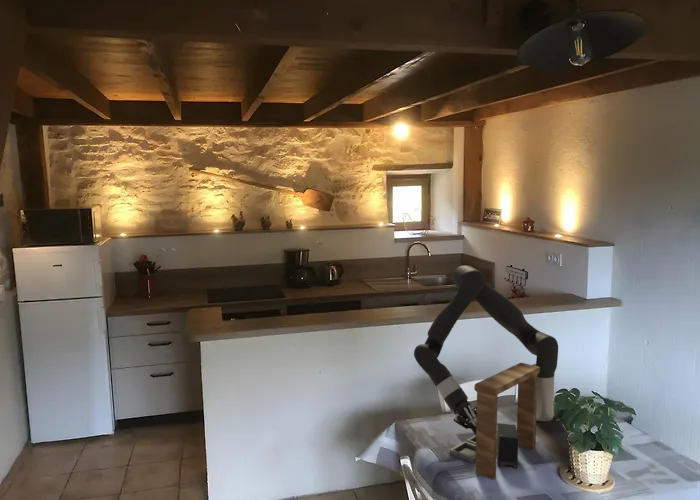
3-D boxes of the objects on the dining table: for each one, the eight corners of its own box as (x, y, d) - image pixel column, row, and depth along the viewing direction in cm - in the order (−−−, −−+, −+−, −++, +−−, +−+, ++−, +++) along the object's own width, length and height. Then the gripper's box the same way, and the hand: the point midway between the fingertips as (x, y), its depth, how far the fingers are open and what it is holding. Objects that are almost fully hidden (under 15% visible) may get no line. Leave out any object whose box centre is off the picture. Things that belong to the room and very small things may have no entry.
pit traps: (480, 435, 201) (480, 431, 201) (502, 443, 195) (502, 439, 195) (449, 454, 188) (449, 449, 188) (472, 463, 182) (472, 458, 182)
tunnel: (518, 442, 196) (520, 362, 193) (537, 448, 191) (539, 367, 188) (473, 472, 176) (474, 384, 172) (493, 480, 171) (494, 389, 168)
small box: (518, 469, 178) (519, 437, 177) (497, 467, 179) (498, 436, 178) (515, 453, 188) (516, 424, 187) (495, 452, 189) (496, 422, 188)
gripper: (447, 392, 190) (477, 437, 183) (468, 382, 199) (498, 425, 192) (434, 403, 195) (463, 447, 187) (456, 393, 204) (484, 435, 197)
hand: (481, 436), depth 190 cm, fingers closed
